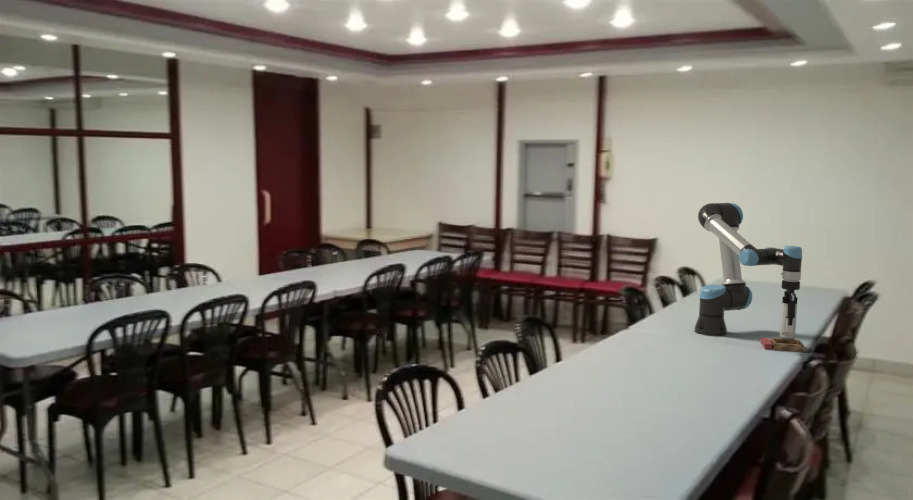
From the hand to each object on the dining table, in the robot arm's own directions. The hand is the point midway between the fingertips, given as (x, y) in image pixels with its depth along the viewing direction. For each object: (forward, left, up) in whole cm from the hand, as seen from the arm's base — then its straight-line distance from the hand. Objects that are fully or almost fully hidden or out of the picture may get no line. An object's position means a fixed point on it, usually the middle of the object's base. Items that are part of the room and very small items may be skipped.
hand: (787, 330), depth 324 cm
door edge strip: (-9, +1, -8) cm, 12 cm away
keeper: (0, 0, -8) cm, 8 cm away
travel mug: (0, 0, -4) cm, 4 cm away
